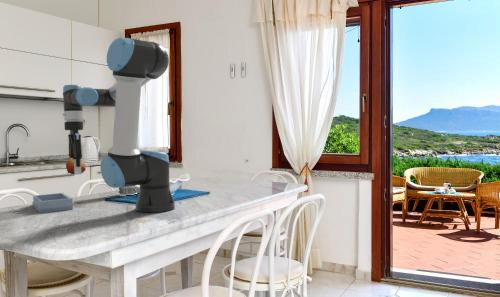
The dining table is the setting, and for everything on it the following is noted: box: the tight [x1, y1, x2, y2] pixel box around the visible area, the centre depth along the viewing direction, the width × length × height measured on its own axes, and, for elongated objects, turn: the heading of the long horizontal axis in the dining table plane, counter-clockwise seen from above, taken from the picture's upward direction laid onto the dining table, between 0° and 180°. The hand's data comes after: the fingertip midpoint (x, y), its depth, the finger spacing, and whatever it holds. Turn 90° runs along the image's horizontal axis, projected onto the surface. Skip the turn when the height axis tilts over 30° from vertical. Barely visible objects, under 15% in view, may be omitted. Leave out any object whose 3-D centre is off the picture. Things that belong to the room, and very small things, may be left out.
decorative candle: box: [118, 186, 138, 197], centre depth 213 cm, size 9×9×25 cm
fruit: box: [65, 158, 87, 175], centre depth 192 cm, size 8×8×8 cm
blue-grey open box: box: [32, 192, 74, 214], centre depth 184 cm, size 12×22×4 cm, turn 33°
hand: (75, 173), depth 191 cm, fingers closed on fruit, 8 cm apart
